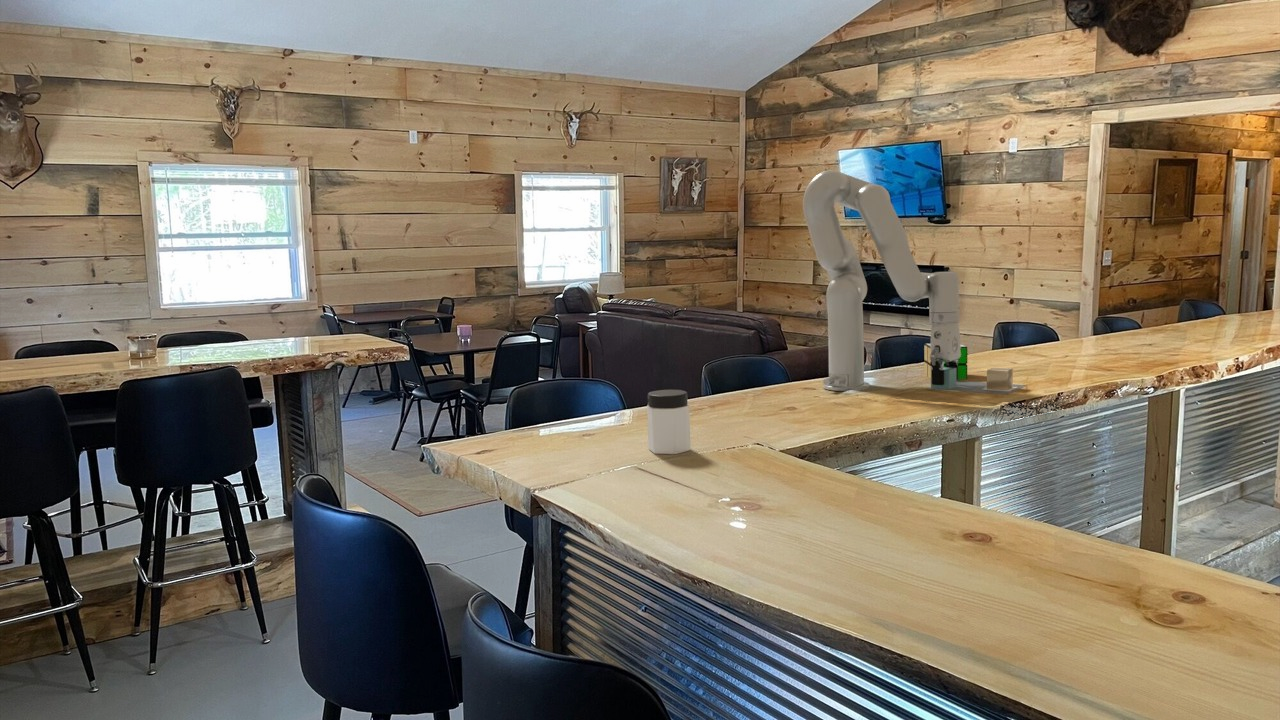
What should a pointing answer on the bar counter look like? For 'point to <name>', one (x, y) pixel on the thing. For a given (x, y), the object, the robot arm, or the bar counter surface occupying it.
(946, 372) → the teal block
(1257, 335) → the bar counter surface
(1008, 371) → the maple block
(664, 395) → the jar
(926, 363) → the puzzle cube
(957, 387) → the slate board
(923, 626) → the bar counter surface
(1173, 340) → the bar counter surface
